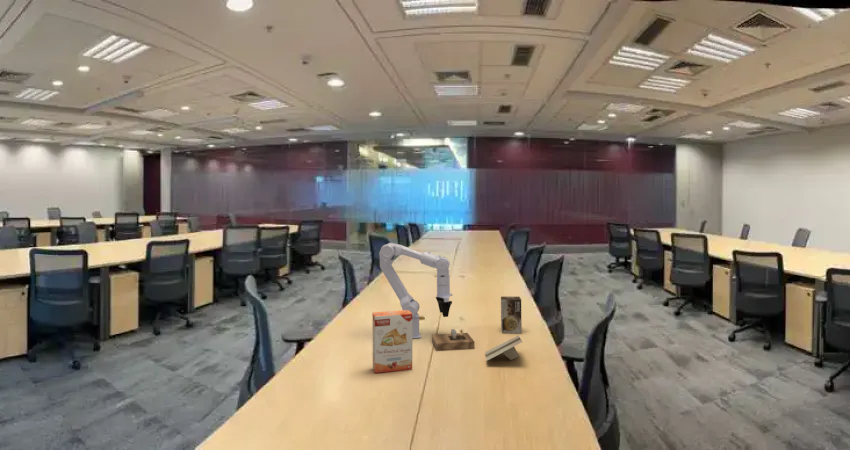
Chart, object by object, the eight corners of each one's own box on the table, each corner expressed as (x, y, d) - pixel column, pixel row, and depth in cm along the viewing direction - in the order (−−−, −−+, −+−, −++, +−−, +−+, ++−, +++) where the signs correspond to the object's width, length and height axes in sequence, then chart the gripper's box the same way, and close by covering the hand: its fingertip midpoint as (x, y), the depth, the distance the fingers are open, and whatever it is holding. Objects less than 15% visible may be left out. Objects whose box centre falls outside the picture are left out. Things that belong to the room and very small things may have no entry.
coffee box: (520, 329, 200) (520, 296, 199) (521, 333, 193) (521, 299, 192) (500, 329, 200) (500, 296, 200) (501, 333, 194) (501, 299, 193)
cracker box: (374, 374, 148) (374, 316, 147) (372, 368, 154) (371, 311, 153) (413, 369, 152) (412, 313, 151) (409, 363, 158) (408, 309, 157)
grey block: (453, 346, 177) (452, 332, 176) (451, 343, 181) (451, 329, 180) (464, 345, 177) (464, 331, 177) (462, 342, 181) (462, 328, 181)
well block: (436, 350, 171) (436, 343, 171) (431, 341, 183) (431, 334, 183) (474, 348, 174) (474, 341, 174) (467, 339, 186) (467, 332, 185)
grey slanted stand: (502, 379, 153) (533, 352, 152) (485, 360, 154) (516, 333, 154) (499, 369, 169) (527, 344, 169) (484, 352, 170) (512, 328, 170)
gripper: (455, 287, 181) (456, 318, 182) (448, 281, 196) (449, 310, 196) (439, 287, 180) (440, 319, 181) (433, 282, 195) (434, 310, 195)
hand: (443, 314), depth 189 cm, fingers open, 7 cm apart
